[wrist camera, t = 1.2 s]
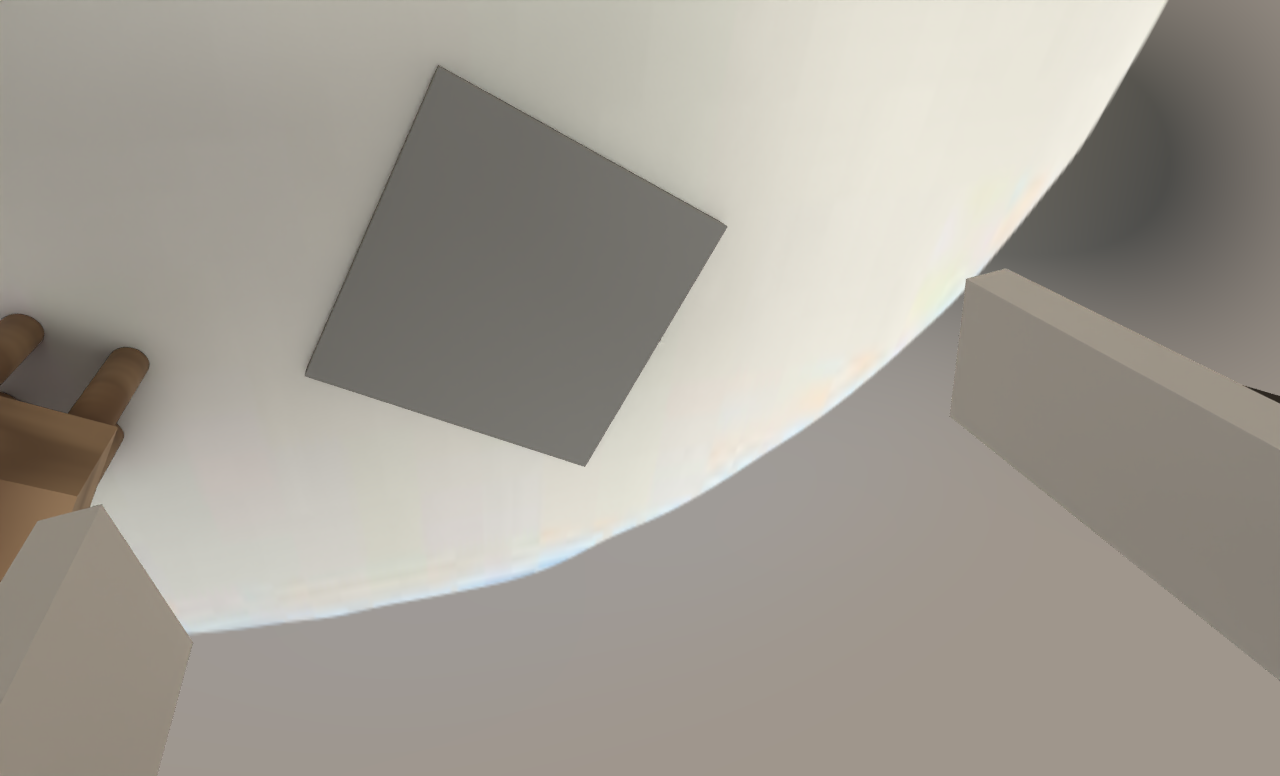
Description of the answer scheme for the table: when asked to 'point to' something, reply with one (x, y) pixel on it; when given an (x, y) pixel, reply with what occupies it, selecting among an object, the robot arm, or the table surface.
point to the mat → (510, 278)
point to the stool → (56, 438)
